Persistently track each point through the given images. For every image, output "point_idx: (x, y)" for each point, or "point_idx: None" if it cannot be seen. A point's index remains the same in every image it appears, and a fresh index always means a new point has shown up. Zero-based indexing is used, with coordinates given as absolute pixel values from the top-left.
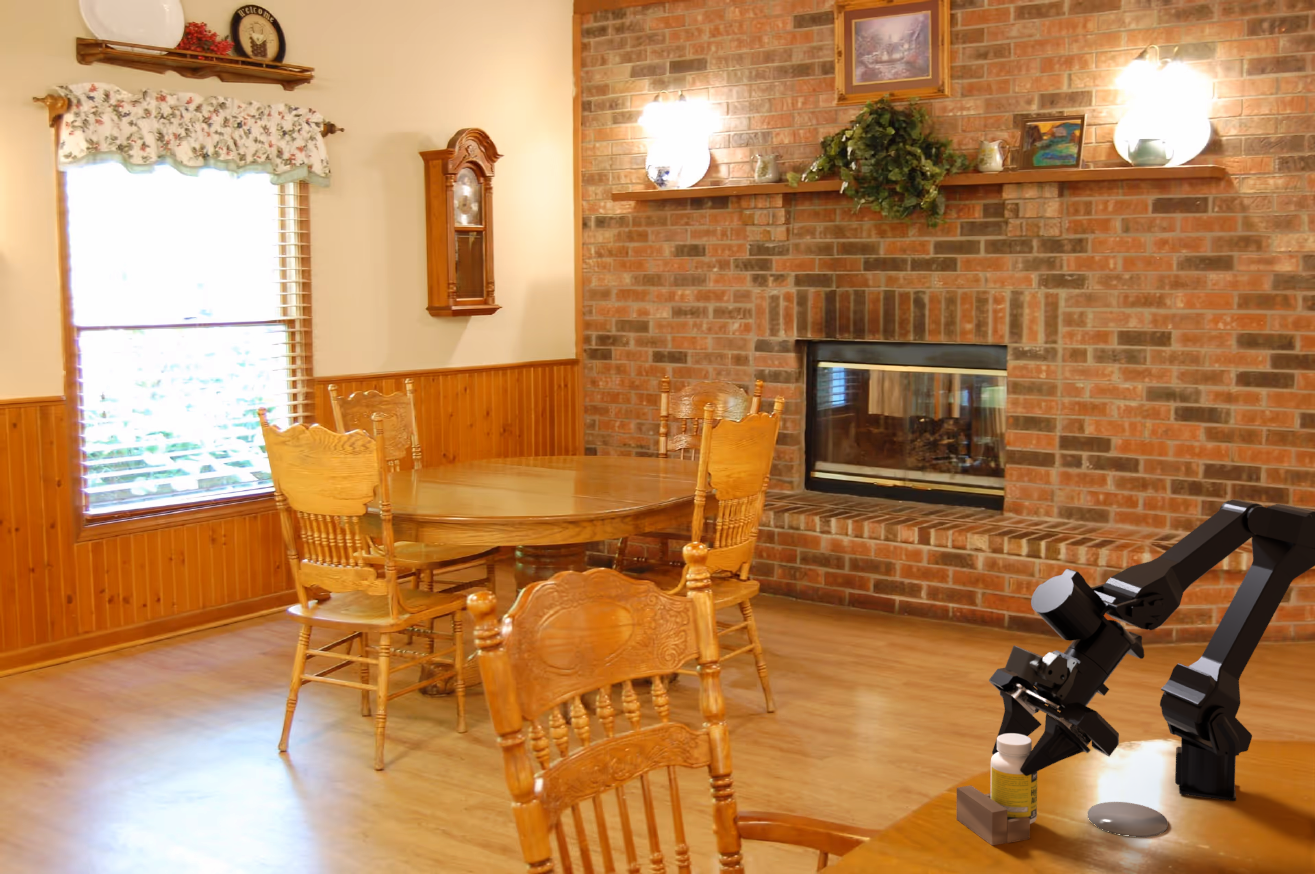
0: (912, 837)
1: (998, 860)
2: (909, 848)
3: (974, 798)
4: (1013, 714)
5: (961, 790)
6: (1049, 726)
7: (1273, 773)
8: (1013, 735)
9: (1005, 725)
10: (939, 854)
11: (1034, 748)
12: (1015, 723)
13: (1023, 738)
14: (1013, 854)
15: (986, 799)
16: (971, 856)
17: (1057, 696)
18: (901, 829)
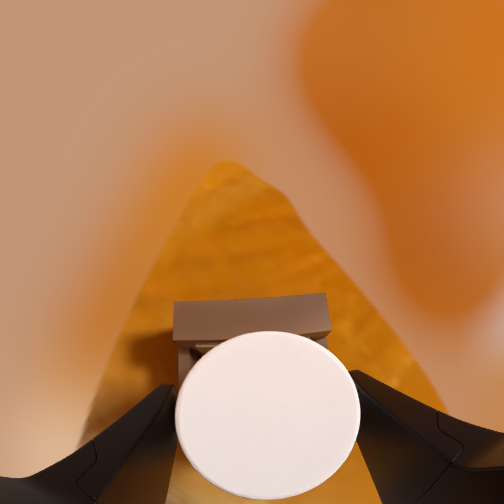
0: (262, 226)
1: (142, 306)
2: (230, 210)
3: (257, 303)
4: (457, 475)
5: (308, 296)
6: (15, 496)
7: None
8: (321, 438)
9: (424, 428)
10: (197, 237)
11: (127, 440)
12: (422, 479)
13: (263, 468)
14: (149, 340)
15: (242, 326)
16: (171, 275)
17: None
18: (293, 224)
